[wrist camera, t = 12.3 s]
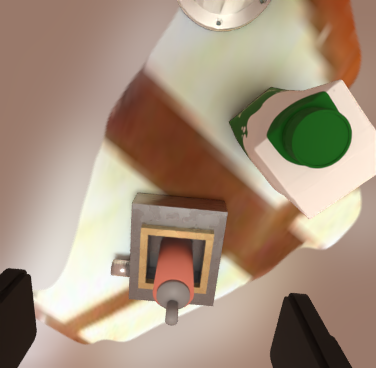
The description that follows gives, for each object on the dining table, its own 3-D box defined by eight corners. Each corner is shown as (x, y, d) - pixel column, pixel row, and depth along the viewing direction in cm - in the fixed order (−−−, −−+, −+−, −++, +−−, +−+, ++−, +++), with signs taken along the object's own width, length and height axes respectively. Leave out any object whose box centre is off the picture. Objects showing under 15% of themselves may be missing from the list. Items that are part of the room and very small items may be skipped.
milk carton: (272, 76, 36) (364, 63, 17) (310, 130, 38) (429, 172, 19) (219, 121, 38) (247, 155, 19) (258, 170, 40) (318, 244, 21)
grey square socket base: (117, 190, 41) (107, 204, 36) (224, 200, 41) (228, 215, 37) (116, 280, 46) (107, 301, 42) (211, 288, 47) (213, 310, 42)
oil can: (160, 231, 42) (150, 292, 30) (193, 234, 42) (196, 295, 30) (159, 259, 44) (148, 328, 32) (191, 261, 44) (192, 330, 32)
